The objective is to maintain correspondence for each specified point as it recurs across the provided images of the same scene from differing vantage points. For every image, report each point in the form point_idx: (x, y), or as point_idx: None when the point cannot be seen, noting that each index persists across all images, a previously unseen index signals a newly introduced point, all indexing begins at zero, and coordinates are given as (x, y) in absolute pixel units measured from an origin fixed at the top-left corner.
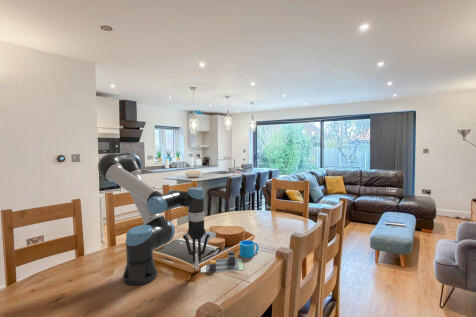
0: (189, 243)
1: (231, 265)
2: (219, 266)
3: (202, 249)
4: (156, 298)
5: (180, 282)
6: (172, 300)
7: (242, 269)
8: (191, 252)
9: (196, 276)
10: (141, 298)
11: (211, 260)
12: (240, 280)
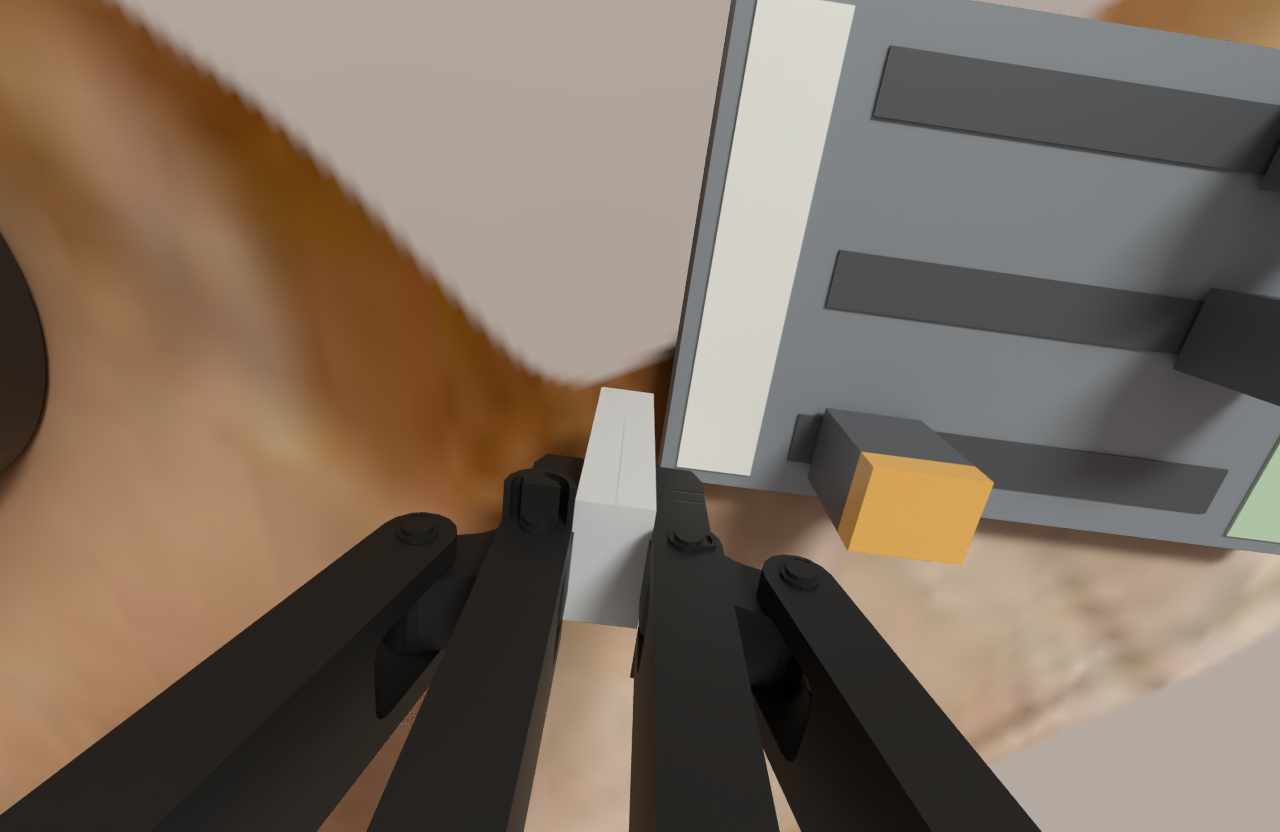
0: (217, 809)
1: None
2: (999, 355)
3: (780, 635)
4: None
5: None
6: (378, 797)
7: (1271, 538)
8: (447, 644)
9: None
10: (79, 721)
11: (905, 483)
12: (1096, 659)
